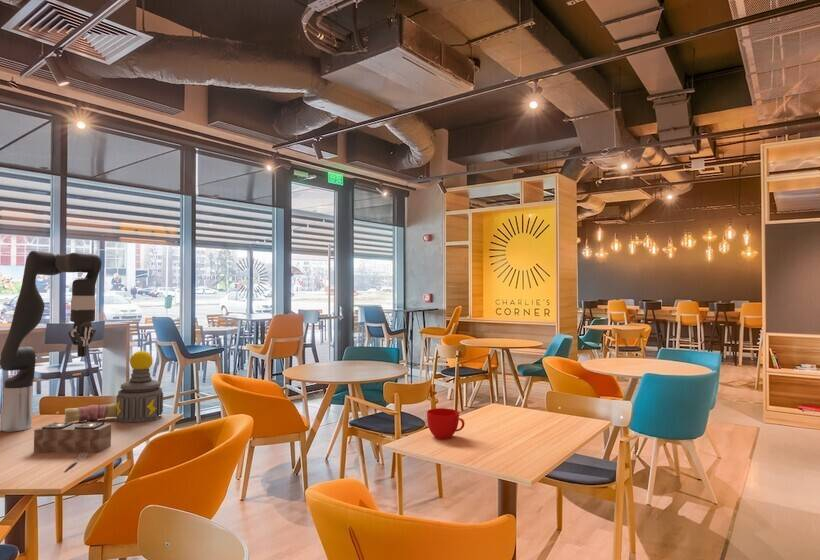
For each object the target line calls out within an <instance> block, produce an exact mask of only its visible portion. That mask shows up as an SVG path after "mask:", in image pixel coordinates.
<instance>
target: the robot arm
mask: <svg viewBox="0 0 820 560" xmlns="http://www.w3.org/2000/svg"><path fill="white" fill-rule="evenodd" d="M102 264H103V262H102V258H101V257H100V256H99V254H96V253H87V252H86V253H85V252H70V253H63V254H59V253H56V252H51V251H42V250H32V251H30V252H29V253H28V255H27V257H26V259H25V264H24V268H23V269H24V270H23V275H22V284H21V287H20V290H19V294H18V297H17V301H16V305H15V308H14V311H13V315H12V320H11V323H10V328H9V331H8V335H7V336H6V339H5V342H4V345H3V347H2V350H1V353H0V368H1V370H2V371H6V372H7V371H8V372H11V371H19V372H18V373H16V374H15V375H14V376H12V377H10V378H7V379H6V380H5V381H4V386H3V387H4V390H3V406H1V407H0V431H1V432H7V433H9V432H20V431H25V430H28V429H31V428H32V415H33V414H32V413H33V411H32V410H33V389H34V387H33V385H34V384H33V382H34V379H35V373H36V372H35V369H36V363H37V362H36V359H37V358H36V356H37V355H36V354H37V353H36V351H35V349H34V348H33V347H32V346H20V345H21V343H22V342H23V340H24V339H25V338H26V337H27V336H28V335H29V334H30V333H31V332H32V331H33V330H34V329H35V328H37V326H38V325H39V324H40V323H41V321H42V319H43V314H44V311H45V306H46V305H45V302H44V300H43V298H42V296H41V294H40V292H39V290H38V288H37V284H36V283H37V282H36V280H37V276H39V275H42V276H56V275H59V274H62V273H86V275H85V276H84V278H78V279H74V280H73V282H72V284H71V289H72V290H71V299H70V315H69V316H70V322H71V323H73V327H72V331H68V336H69V339H70V340H71V342H72V345H74V346H76V347H77V358H83V357H84V358H85V357H87V346H89V345H90V344H91V342H92V341H93V338H94V336H95V333H96V329H93V328H92V327H93V325H92V322H95V321H96V303H97V302H96V285H97V281H98V277H99V274H100V272H101V269H102V266H103V265H102ZM88 344H89V345H88Z"/></svg>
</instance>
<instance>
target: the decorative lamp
mask: <svg viewBox="0 0 820 560" xmlns="http://www.w3.org/2000/svg"><path fill="white" fill-rule="evenodd" d="M153 362H154V361H153V356H152V355H151V353H149V352H147V351H146V350H138V351H135V352H133V354H132V355H131V357H130V359H129V365H130V367H131V369H132V373H131V375H130V376H131V377H130V378H129V381H125V382H124V383H122V384H120V390H118V392H117V395H116V401H115V403H116V416H117V417H116V419H117V421H119V422H120V423H125V424H127V423H129V424H133V423H135V424H136V423H137V424H138V422H139V423H147V422H151V421H150V420H152V421H155V420H154V419H156V420H158V419H160V418H161V417H162V413H163V411H164V410H163V409H164V392H163V388H162V387H160V386H161V382H160V381H158V380H155V379H153V378H152V375H151V372H150V368H151V367H152V364H153ZM159 415H161V416H159ZM157 418H158V419H157ZM146 421H147V422H146Z"/></svg>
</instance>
